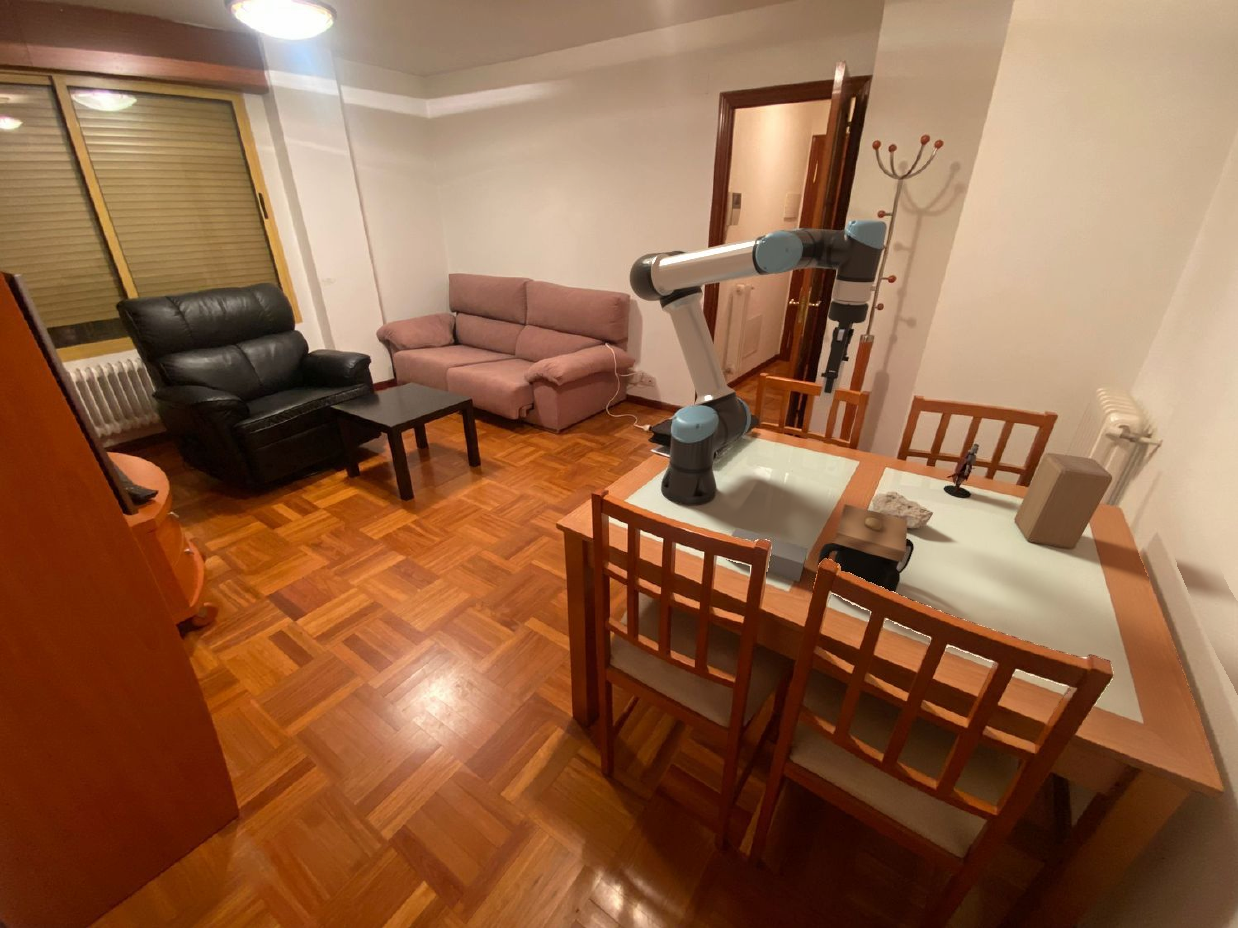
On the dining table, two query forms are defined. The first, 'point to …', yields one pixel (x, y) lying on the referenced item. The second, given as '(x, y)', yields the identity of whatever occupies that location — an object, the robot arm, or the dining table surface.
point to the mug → (869, 564)
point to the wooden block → (1061, 499)
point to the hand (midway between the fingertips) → (828, 396)
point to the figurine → (962, 474)
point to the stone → (901, 509)
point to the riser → (780, 555)
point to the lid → (872, 532)
